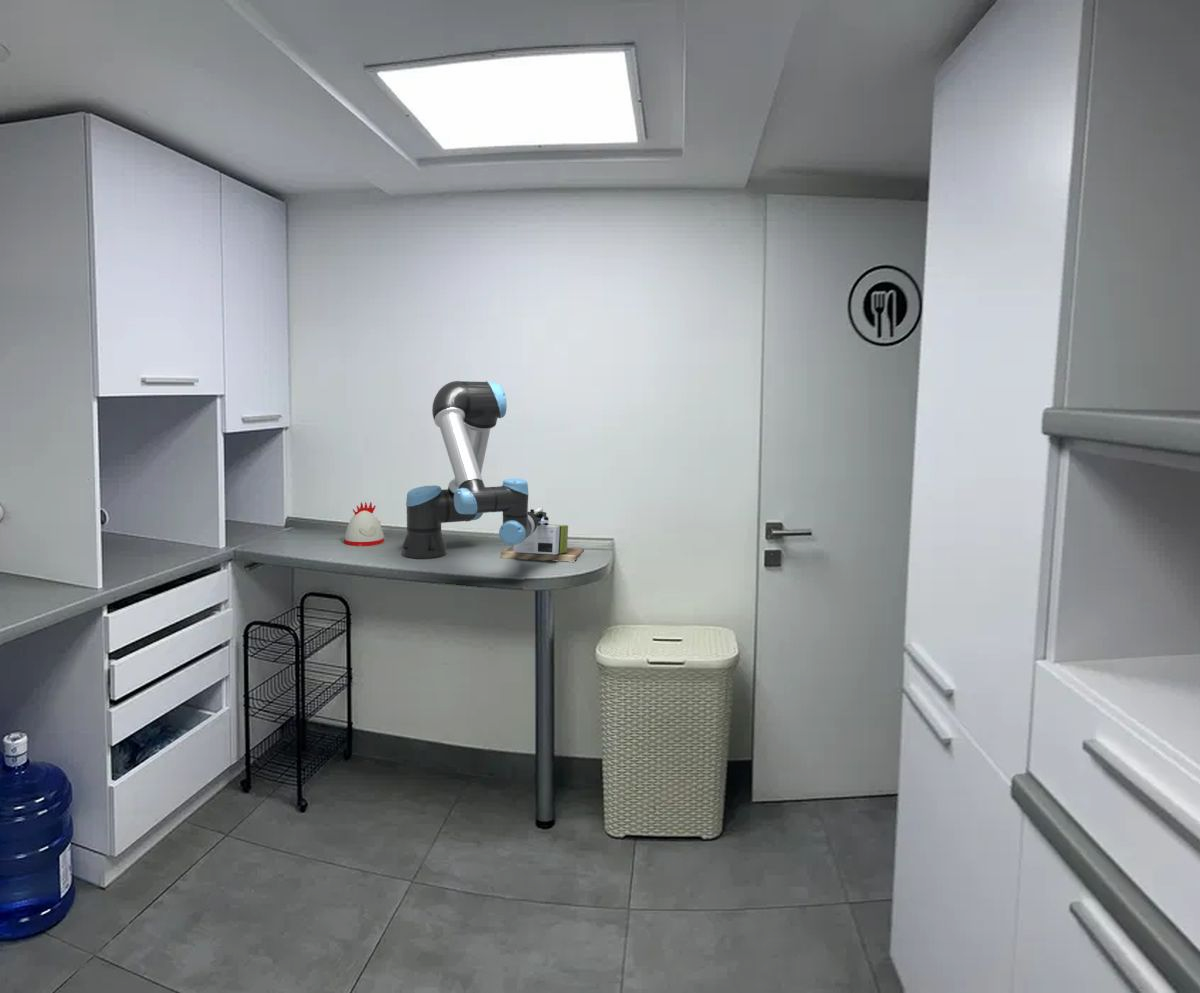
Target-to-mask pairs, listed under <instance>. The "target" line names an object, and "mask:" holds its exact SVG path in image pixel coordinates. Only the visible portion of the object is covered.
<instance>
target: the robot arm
mask: <svg viewBox="0 0 1200 993" xmlns="http://www.w3.org/2000/svg"><path fill="white" fill-rule="evenodd" d="M507 405H508V404H507V396H506V392H505V390H504V388H503V386H502V385H501V384H500V383H498V382H494V381H488V380H487V381H467V380H466V381H461V380H456V381H455V380H454V381H450V382H448V383H446V384H445V385H444V384H443V386H441V388H440V389H439V390H438V392H437V393H436V394H435V397H434V398H433V402H432V406H431V407H432V418H433V421H434V423H435V424H434V425H435V426H437V427H438V428H439V429H440V432H441V435H442V436H441V437H442V439H443V442H444V446H445V449H446V452H447V456H448V458H449V462H450V464H451V468H452V472H453V475H454V478H453V479H451V480H450V482H449V483H448V488H446V489H442V488H441V486H440V485H433V484H432V485H423V486H418V487H415V488H412V489H410V490H409V491H408V492H407V493H406V501H405V502H406V503H405V506H406V535H405V538H404V540H403V543H402V544H403V545H402V547H401V555H402V556H403V557H405V558H410V559H434V558H439V557H443V556H445V555H447V553H448V552H447V545H446V542H445V539H444V536H443V533H442V524H445V523H446V524H447V523H458V522H471V521H477V520H479V519H481V517H482V516H483V514H487V513H499V512H500V513H501V512H502V524H501V526H500V528H499V532H498V535H499V536H498V537H499V538H500V539H499V540H501V542H502V543H504V544H505V545H508V546H510V547H512V546H513V545H517V544H519V543H521V542H523V541H524V539H525V538H527V537H528V536H529V535H530V534H532V533H533V532H534V531H535V530H536V528H537V526H539V525H541V524H542V525H546V526H547V525H548V524H549V516H547V512H544V508H543V507H537V508H536V509H534V508H533V509H532V508H531V509H529V484H528V481H527V480H526V479H525V478H524V479H523V478H514V477H513V478H512V477H511V478H505V479H504V480H502V485H499V486H485V483H484V480H483V477H482V470H483V466H484V461H485V456H486V452H487V446H488V442H489V437H490V432H491V429H493V428H495V427H496V425H497V422H498V419H502V418H504V417H505V415H506V413H507V408H508V406H507ZM529 510H530V511H529Z"/></svg>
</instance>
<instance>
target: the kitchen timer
mask: <svg viewBox="0 0 1200 993" xmlns="http://www.w3.org/2000/svg"><path fill="white" fill-rule="evenodd" d="M364 502H365V501H364ZM376 506H377V505H376V504H375V505H373V504H372V502H371V501H370V503H369V505H368V503H367V502H365V503H364V505H363V502H360V506H358V505H356V508H357V511H356V510H355V509H354V508H352V512H353V513H354V515H353V516H352V517H351V519H350V520H349V522H348V524H347V527H346V530H345V534H344V544H345V545H347V546H352V547H371V546H377V545H378V546H379V545H381V544H384V543H385V535H384V531H383V527H382V525H381V520H379V519H378V518H377V516H375V514H373V513H374V511H375V509H376Z"/></svg>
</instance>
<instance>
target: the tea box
mask: <svg viewBox="0 0 1200 993" xmlns="http://www.w3.org/2000/svg"><path fill="white" fill-rule="evenodd" d="M568 534H569V525H567V524H553V523H552V524H551V523H548V525H547V526H546V525H542V523H541V525H539V526H537V528H536V530H535V531H534V532H533V533H532V534H530V535H529V536H528V537H527V538H525V539H524V541H523V542H521V543H519V544H517V545H514V552H518V553H534V554H551V555H557V554H561V553H566V552H567V548H568V537H569V536H568Z"/></svg>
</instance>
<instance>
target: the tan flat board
mask: <svg viewBox="0 0 1200 993" xmlns="http://www.w3.org/2000/svg"><path fill="white" fill-rule="evenodd" d="M584 551H585V550H584V548H578V547H576V548H575V547H574V548H573V547H567V552H566V553H561V554H557V555H551V554H534V553H518V552H514V545H513V546H510V548H508V549H506V550H502V551H500V558H501V557H502V559H513V558H518V559H517V560H528V559H534V560H533V561H544V560H558V561H557V562H560V561H575V560H576V559H577V558H578V557H579V558H580V557H581V555H582V554H583V553H584ZM581 553H582V554H581ZM579 558H578V559H579ZM535 559H536V560H535ZM578 559H577V560H578ZM577 560H576V561H577ZM576 561H575V562H576Z"/></svg>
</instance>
